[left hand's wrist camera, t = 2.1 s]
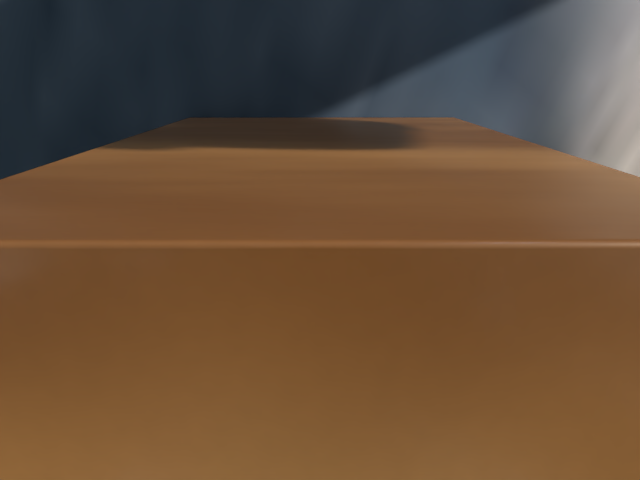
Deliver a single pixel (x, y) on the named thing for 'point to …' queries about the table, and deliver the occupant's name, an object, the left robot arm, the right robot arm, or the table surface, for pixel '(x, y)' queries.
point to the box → (320, 307)
